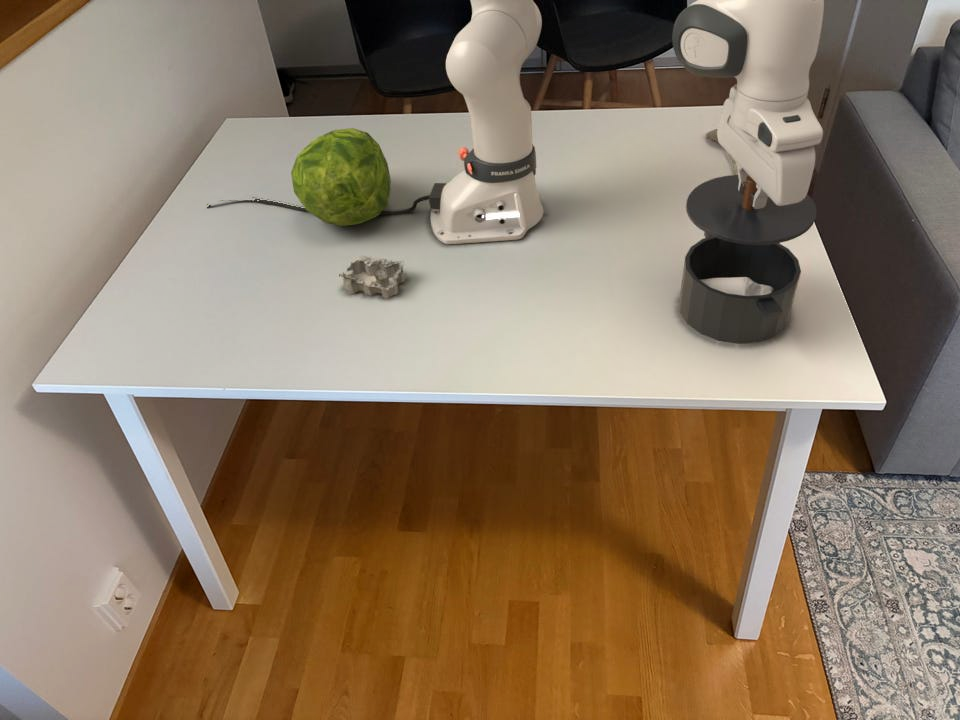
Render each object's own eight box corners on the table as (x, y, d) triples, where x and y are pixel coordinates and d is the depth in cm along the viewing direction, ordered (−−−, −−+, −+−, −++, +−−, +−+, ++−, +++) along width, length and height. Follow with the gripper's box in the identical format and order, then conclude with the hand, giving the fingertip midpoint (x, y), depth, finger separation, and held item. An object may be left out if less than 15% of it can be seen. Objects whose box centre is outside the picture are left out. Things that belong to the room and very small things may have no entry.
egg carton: (340, 293, 135) (335, 275, 132) (358, 268, 140) (353, 250, 137) (393, 301, 132) (389, 282, 129) (410, 276, 137) (406, 257, 134)
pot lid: (715, 258, 102) (721, 223, 98) (667, 193, 115) (670, 159, 111) (839, 235, 104) (849, 199, 100) (777, 172, 117) (784, 139, 113)
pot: (711, 366, 113) (720, 319, 107) (658, 280, 130) (662, 234, 123) (816, 345, 115) (831, 297, 108) (750, 262, 131) (760, 216, 125)
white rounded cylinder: (774, 318, 119) (781, 291, 115) (697, 321, 120) (701, 293, 117) (765, 295, 124) (772, 267, 120) (691, 297, 125) (695, 270, 121)
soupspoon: (733, 134, 166) (703, 137, 166) (735, 120, 163) (704, 123, 164) (754, 183, 149) (720, 186, 150) (755, 167, 147) (721, 170, 148)
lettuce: (402, 183, 162) (376, 102, 152) (399, 230, 143) (369, 140, 133) (318, 205, 164) (286, 125, 154) (304, 254, 145) (267, 167, 135)
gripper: (712, 81, 106) (701, 168, 115) (782, 146, 91) (762, 241, 100) (755, 74, 106) (740, 162, 116) (831, 138, 91) (807, 233, 101)
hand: (751, 199), depth 108 cm, fingers closed on pot lid, 2 cm apart
